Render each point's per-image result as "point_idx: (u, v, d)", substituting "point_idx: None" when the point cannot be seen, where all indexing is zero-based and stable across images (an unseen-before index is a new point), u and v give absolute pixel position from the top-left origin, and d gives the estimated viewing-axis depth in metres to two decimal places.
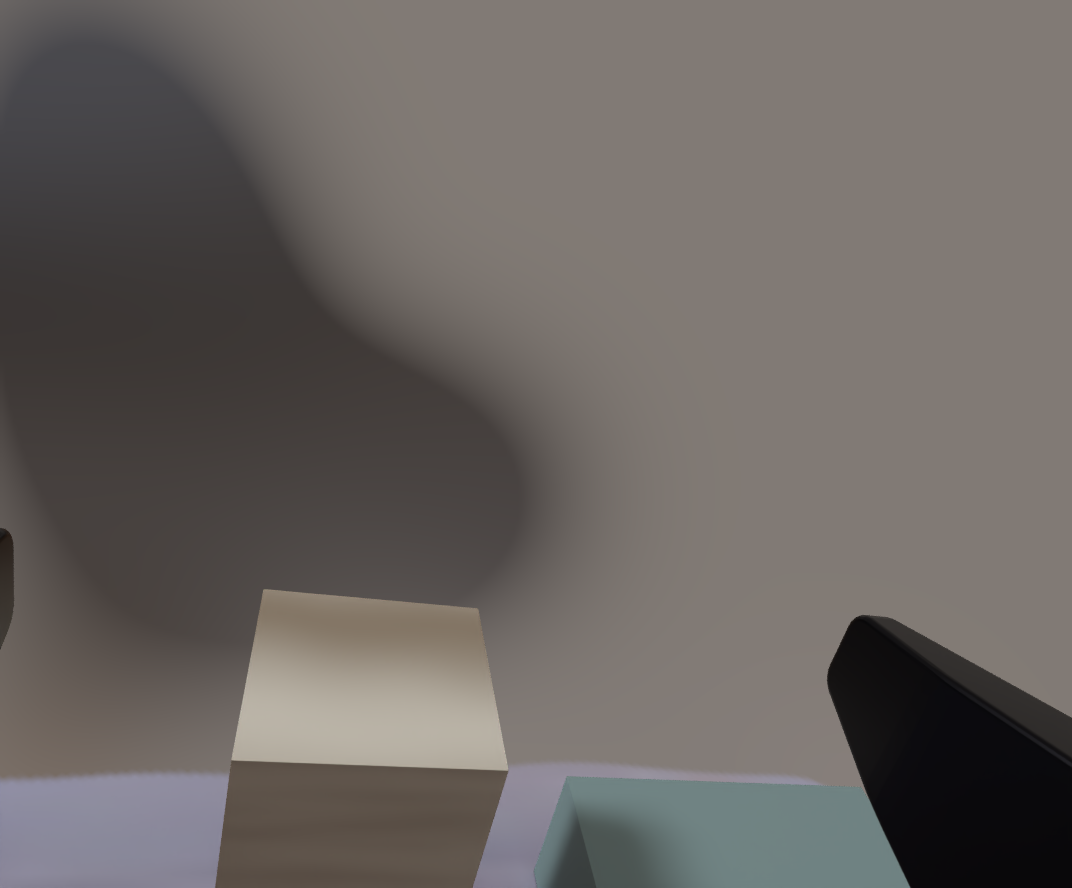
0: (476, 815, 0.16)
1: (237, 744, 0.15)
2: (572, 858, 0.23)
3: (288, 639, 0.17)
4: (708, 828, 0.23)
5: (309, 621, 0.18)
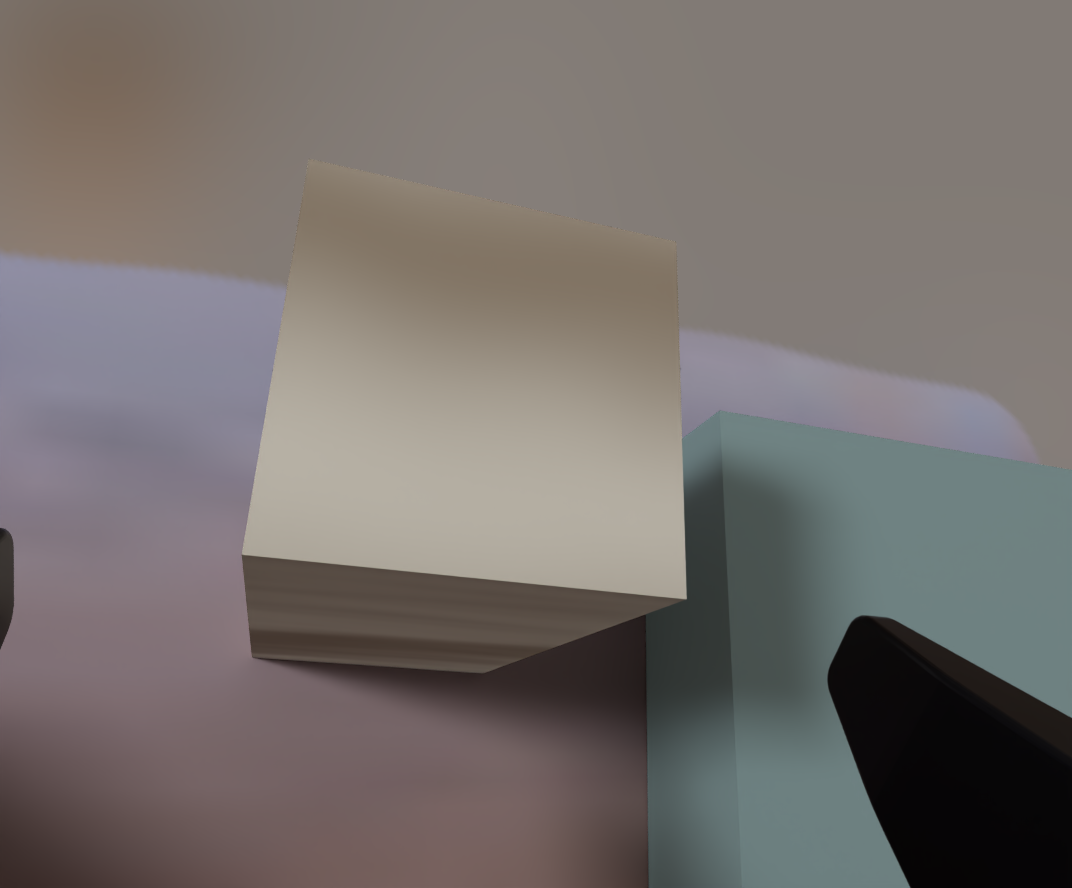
0: (618, 612, 0.11)
1: (253, 520, 0.09)
2: (701, 506, 0.18)
3: (349, 286, 0.10)
4: (877, 506, 0.18)
5: (387, 246, 0.10)
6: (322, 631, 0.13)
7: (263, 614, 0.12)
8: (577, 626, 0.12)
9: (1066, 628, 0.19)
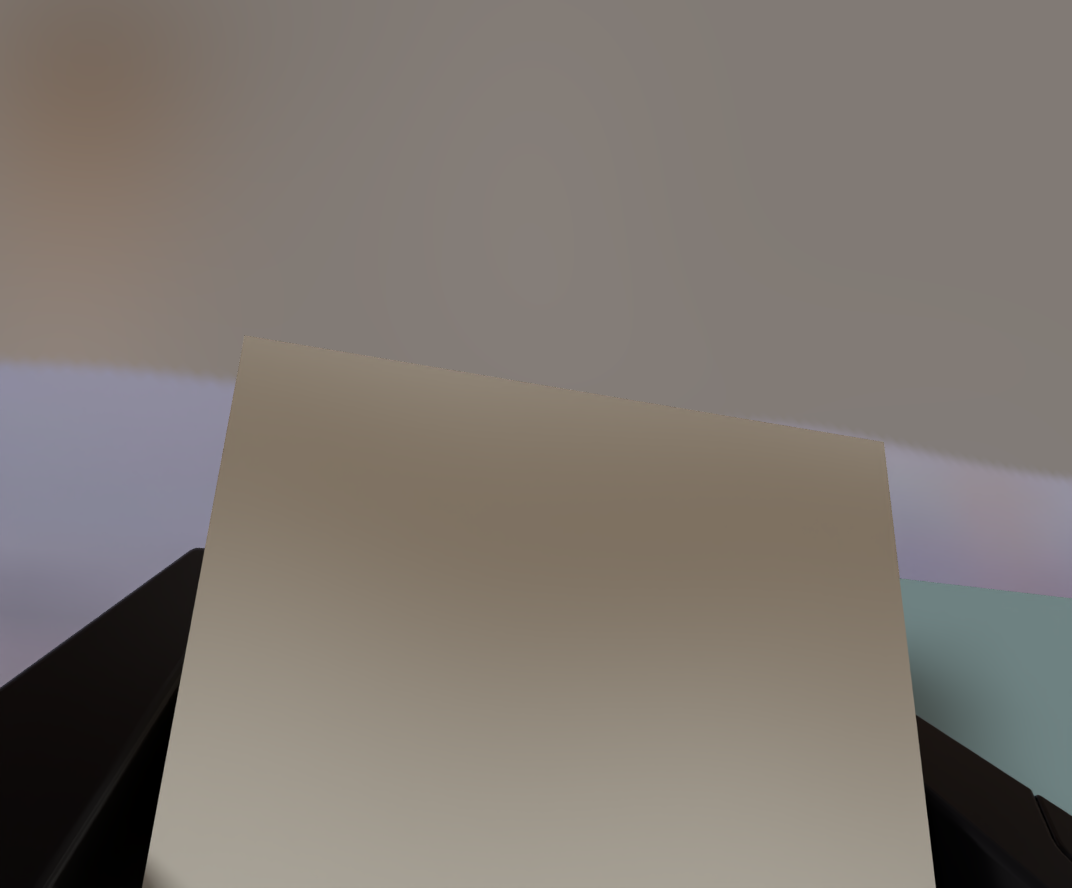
0: None
1: None
2: None
3: (317, 599, 0.05)
4: (1047, 695, 0.14)
5: (392, 503, 0.05)
6: None
7: None
8: None
9: None
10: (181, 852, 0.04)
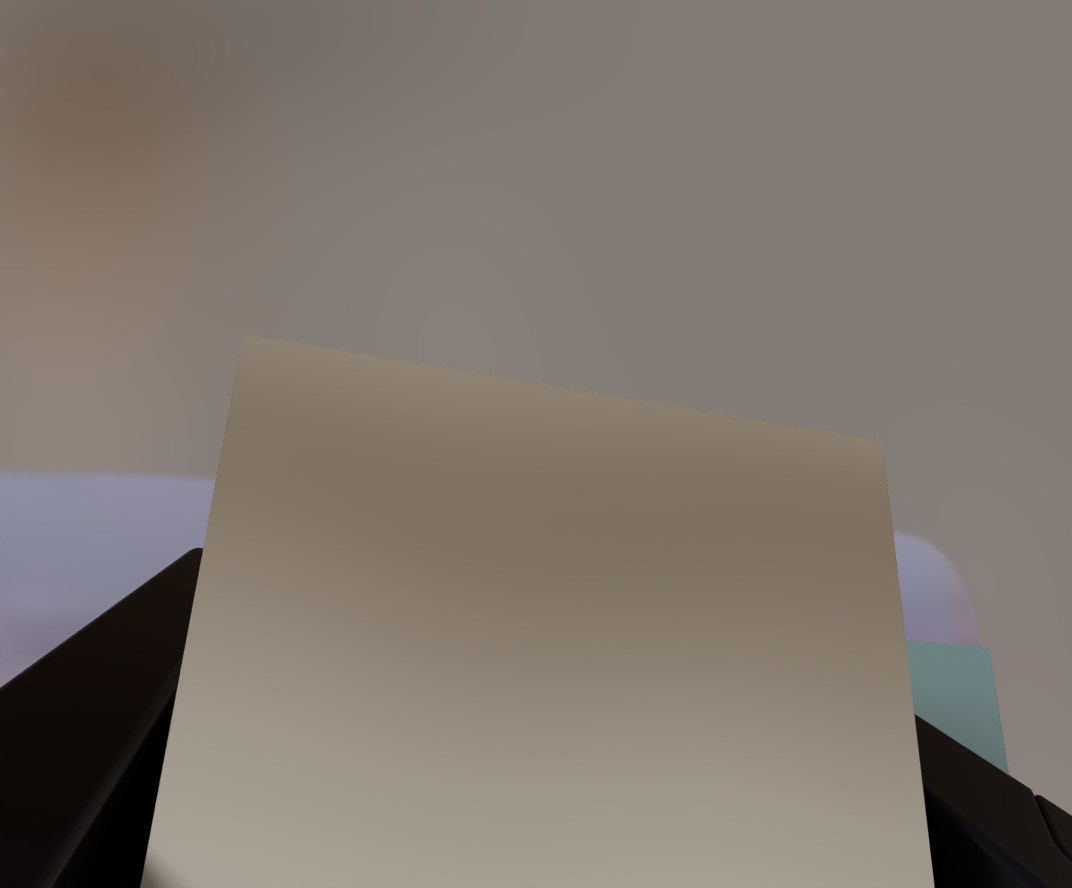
0: None
1: None
2: None
3: (316, 597, 0.05)
4: None
5: (391, 501, 0.05)
6: None
7: None
8: None
9: None
10: (180, 849, 0.04)
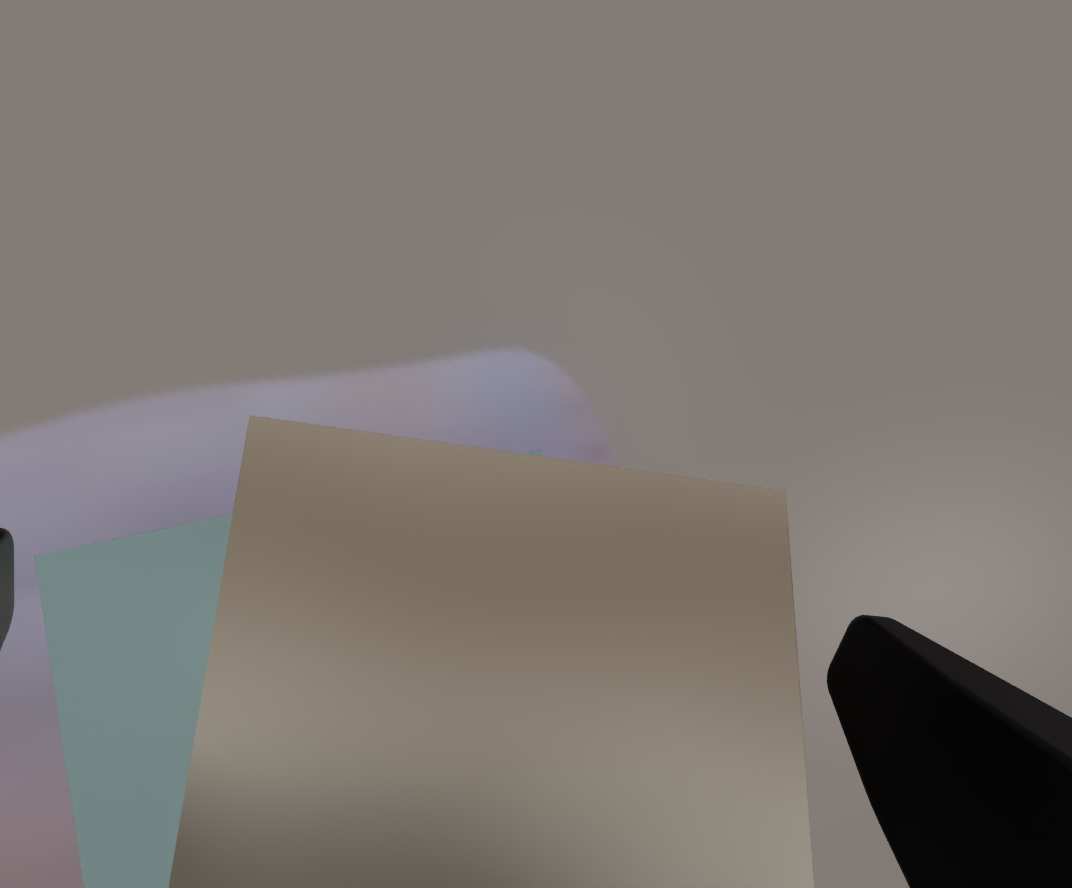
0: None
1: None
2: None
3: (308, 630, 0.06)
4: None
5: (369, 551, 0.07)
6: None
7: None
8: None
9: None
10: (203, 830, 0.06)
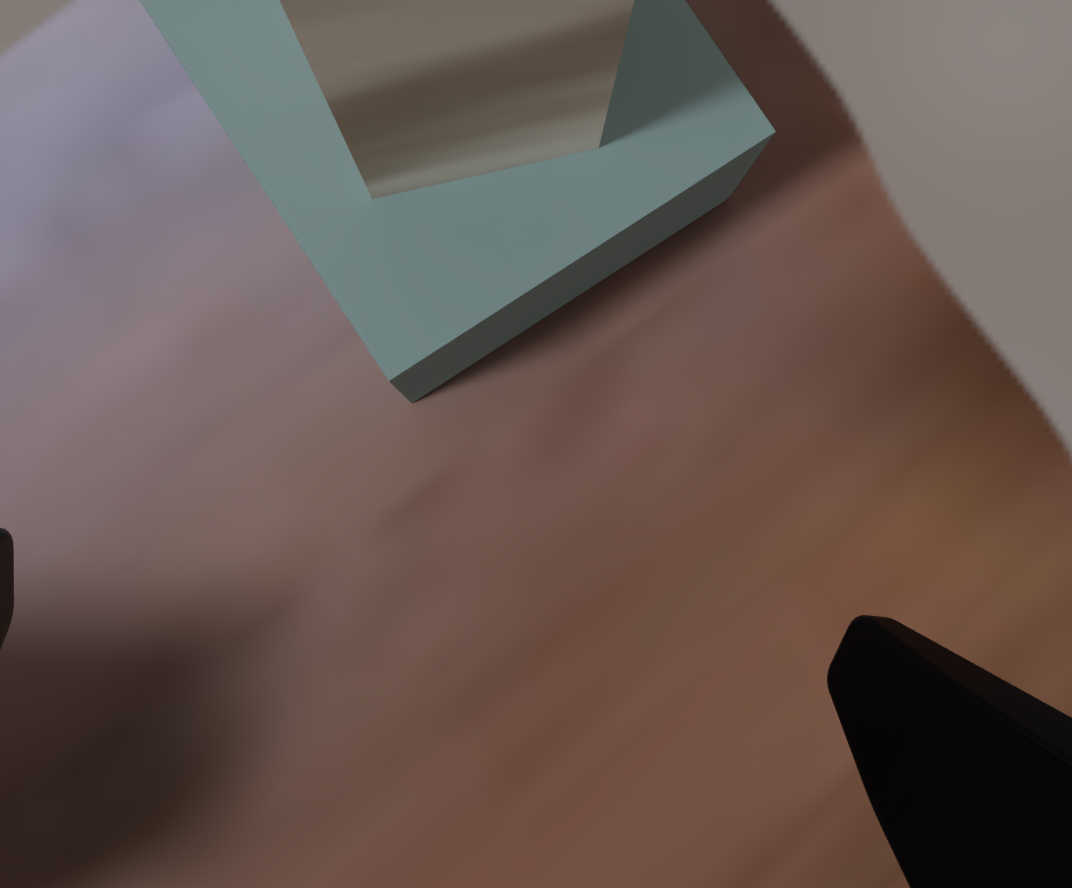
0: None
1: None
2: None
3: None
4: None
5: None
6: (391, 72, 0.13)
7: (314, 38, 0.12)
8: None
9: None
10: None
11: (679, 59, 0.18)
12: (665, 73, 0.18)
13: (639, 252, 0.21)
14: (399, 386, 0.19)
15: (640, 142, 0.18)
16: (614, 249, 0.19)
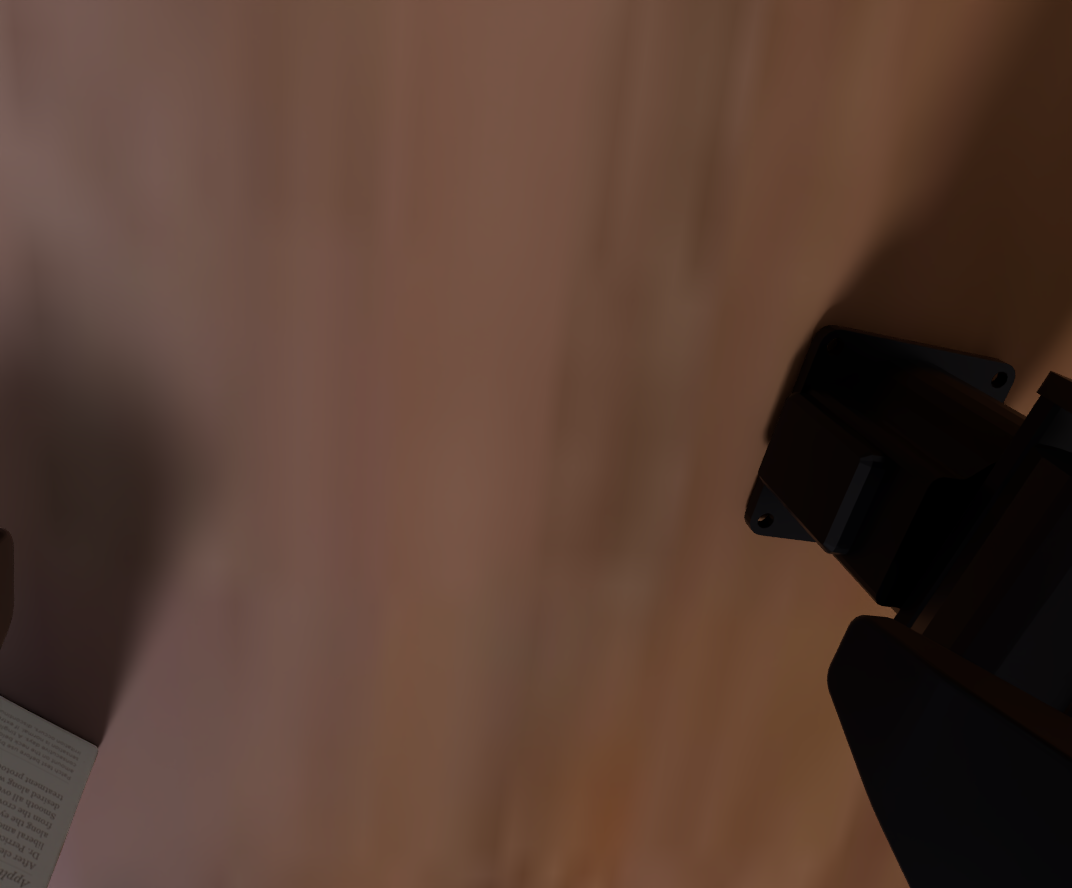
0: None
1: None
2: None
3: None
4: None
5: None
6: None
7: None
8: None
9: None
10: None
11: None
12: None
13: None
14: None
15: None
16: None
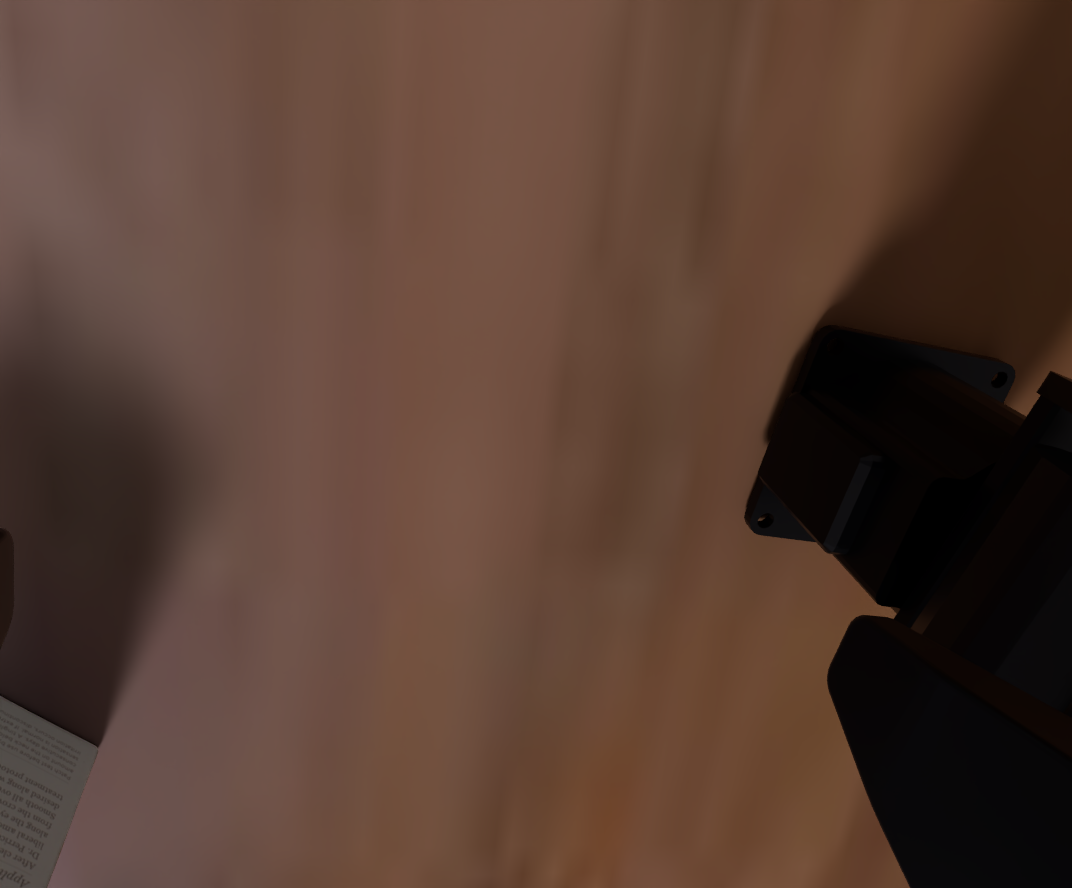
0: None
1: None
2: None
3: None
4: None
5: None
6: None
7: None
8: None
9: None
10: None
11: None
12: None
13: None
14: None
15: None
16: None
